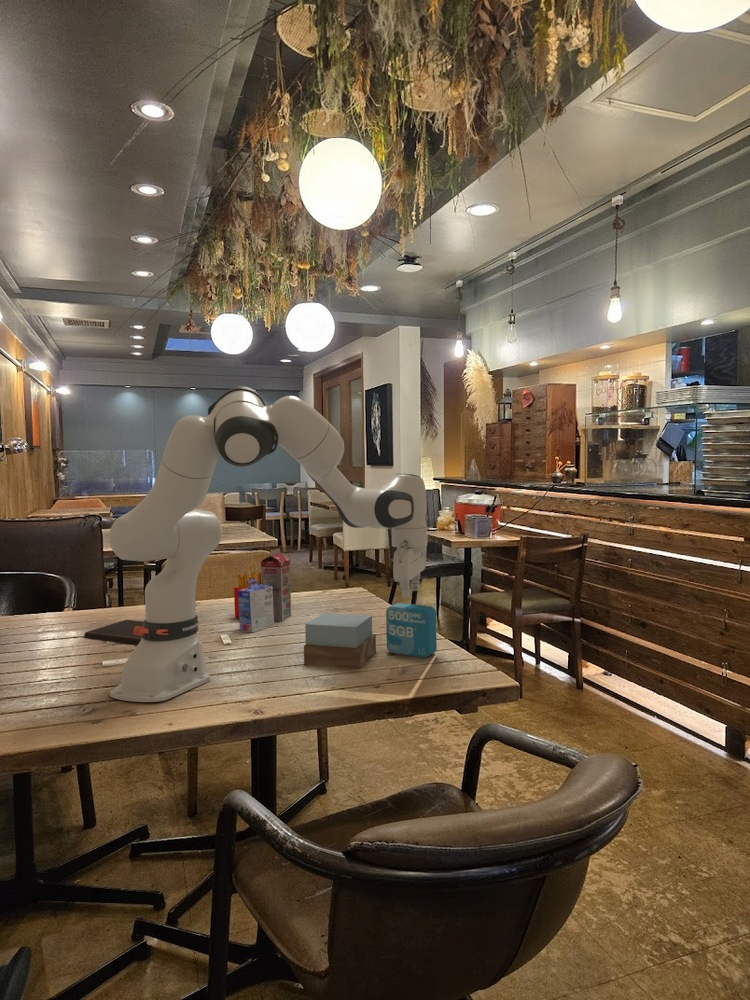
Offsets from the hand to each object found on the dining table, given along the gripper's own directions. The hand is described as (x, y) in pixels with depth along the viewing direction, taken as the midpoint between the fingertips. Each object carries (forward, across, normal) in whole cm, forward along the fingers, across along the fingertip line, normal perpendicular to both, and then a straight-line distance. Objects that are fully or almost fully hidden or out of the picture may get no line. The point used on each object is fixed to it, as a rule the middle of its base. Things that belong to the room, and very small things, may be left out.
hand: (410, 594), depth 162 cm
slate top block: (+11, -7, +16) cm, 21 cm away
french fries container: (+15, +27, +58) cm, 66 cm away
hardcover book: (+15, +1, +81) cm, 83 cm away
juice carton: (+15, +27, +49) cm, 58 cm away
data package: (+15, +1, 0) cm, 15 cm away
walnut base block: (+16, -7, +16) cm, 24 cm away
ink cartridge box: (+15, +15, +50) cm, 55 cm away
